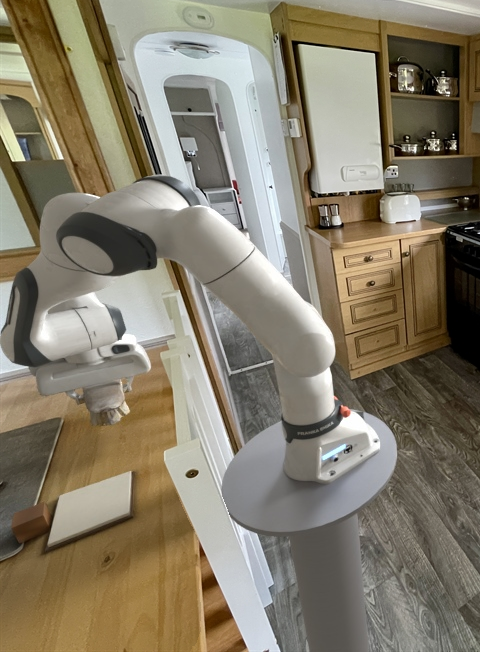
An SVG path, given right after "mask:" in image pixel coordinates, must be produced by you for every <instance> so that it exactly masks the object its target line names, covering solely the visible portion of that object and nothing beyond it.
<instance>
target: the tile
mask: <svg viewBox="0 0 480 652" xmlns="http://www.w3.org/2000/svg"><path fill="white" fill-rule="evenodd" d="M135 474H136V473H135V471H131V470H129V471H126V472H123V473H120V474H117V475H115V476H112V477H108V478H106V479H103V480H100V481H97V482H94V483H91V484H88V485H86V486H82V487H80V488H76V489H74V490H71V491H69V492H65V493H63V494H60V495H59V496H58V498H57V501H56V506H55V509H54V514H53V516H52V517H53V518H52V520H51V529H50V531H49V533H48V536H47V541H46V545H45V549H44V552H45V553H48V552H51V551H53V550H55V549H58V548H60V547H63V546H65V545H68V544H70V543H73V542H75V541H78V540H80V539H84V538H85V537H88V536H90V535H93V534H95V533H98V532H100V531H102V530H105V529H108V528H110V527H112V526H115V525H117V524H120V523H122V522H125V521H127V520H130V519H132V518H134V504H135V503H134V501H135V500H134V499H135Z"/></svg>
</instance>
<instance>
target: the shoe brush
mask: <svg viewBox="0 0 480 652" xmlns="http://www.w3.org/2000/svg"><path fill="white" fill-rule="evenodd" d="M122 387H123V382H122V379H118V380H114V381H109V382H105V383H101V384H97V385H92V386H88V387H84V388H81V389H82V395H84V401H85V403H84V404H85V406H86V407H85V409H87V411H88V412H89V419H90V420H89V421H90V424H91V426H92V427H93V426H94V427H96V426H99V427H106V426H113V425H115V424H116V423H119V422H121V418H124V417H125V416H128V414H130V412H131V410H130V408H129V406H128V404H127V402H126V400H125V399H126V398H125V393H124V390H123V388H122Z"/></svg>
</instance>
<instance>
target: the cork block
mask: <svg viewBox="0 0 480 652" xmlns="http://www.w3.org/2000/svg"><path fill="white" fill-rule="evenodd" d="M52 517H53V516H52V514H51V512H50V510H49V508H48V506H47V503H46V502H45V501H42V502H40V503H37V504H34V505H31V506H30V507H27V508H24V509H22V510H19V511H17V512H13V514H12V520H11V527H10V529H11V531H12V533H13V535H14V536H15V539H16V541H17V542H18V544H19V545H20V544H23V543H24V542H27V541H29V540H31V539H34V538H36V537H39V536H41V535H42V534H46V533H48V532H50V529H51V525H52V521H53V518H52Z"/></svg>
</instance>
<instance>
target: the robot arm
mask: <svg viewBox="0 0 480 652" xmlns="http://www.w3.org/2000/svg"><path fill="white" fill-rule="evenodd" d="M42 210H43V211H42V214H41V219H40V223H39V245H40V251H39V254H38V255H37V256H36V258H35V259H34V260H33V261H32V262H30V263H29V264H28V265H27V266H26V267H24V268H22V269H21V270H19V271H17V272H16V274H15V276H14V277H13V281H12V285H11V289H10V294H9V299H8V305H7V312H6V318H5V322H4V325H3V327H2V328H1V330H0V348H1V351H2V353H3V354H4V356H5V357H6V358H7V359H8V360H9V362H11V363H12V364H15V365H18V366H22V367H28V370H29V372H30V374H31V375H32V376H33V377H35V382H36V383H35V384H36V388H37V391H38V393H39V394H40V395H42V396H44V397H49V396H54V395H57V394H63V393H65V395H66V397H68V398H71V399H72V400H75V403H76V405H77V406H79V405H82V404H85V401H84V395H83V394H79V393H78V392H76V390H80V389H82V388H84V387H88V386H92V385H97V384H101V383H105V382H109V381H114V380H118V379H120V380H123V379H125V381H126V383H124V384H122V389H123V393H124V394H126V393H130V392H132V391H133V389H132V383H133V382H134V377H135V376H138V375H139V376H140V375H143V374H148V373H149V372H150V371H151V369H152V363H151V360H150V358H149V355H148V353H147V351H146V350H145V348H144V346H142V345H141V344H139V343H138V339H137V337H136V335H134V334H125V333H126V331H127V327H126V324H125V322H124V321H125V320H124V316H123V313H122V311H121V309H120V308H118V307H116V306H113V305H110V304H107V303H105V302H104V303H103V302H101V301H100V300H99V298H98V296H97V294H96V292H98V291H102V290H105V289H107V288H108V287H110V286H112V285H113V284H115V283H116V282H117V281H118V280H119V279H120V277H122V276H125V275H129V274H132V273H136V272H138V271H140V272H141V271H151V270H154V269H157V267H158V259H164V260H170V261H173V262H174V263H177V264H179V266H182V267H183V268H184V269H185V270H186V271H187V272H188V273H189V274H190V276H192V277H193V278H194V279H195V280H196V281H197V282H198V283H200V284H201V285H202V286H203V287H204V288H205V289H207V290H208V291H209V292H210V293H211V294H212V295H213V296H214V297H215V298H216V299H217V300H218V301H220V302H221V303H222V304H223V305H224V306H225V307H227V308H228V310H230V312H231V313H233V314H234V315H235V316H236V317H237V318H238V319H239V320H240V322H242V324H243V325H244V326H245V327H246V328H247V330H248V331H249V332H250V333H251V334H252V335H253V336H254V337H255V339H256V340H257V341H258V342H260V344H261V345H262V346H263V347H264V348H265V349H266V350H267V351H268V352H269V353H270V354H271V356H272V362H273V367H274V368H273V369H274V372H275V377H276V382H277V388H278V393H279V400H280V406H281V414H280V415H281V416H280V417H281V418H280V419H281V420H280V421H282V423H281V424H282V431H283V436H284V438H285V440H286V450H285V458H284V462H283V469H284V472H285V473H286V475H287V476H289V477H290V478H292V479H294V480H298V481H316V482H319V483H322V484H329V483H331V482H332V481H334V480H335V479H337V478H339V477H340V476H342V475H343V474H345V473H346V472H348V471H349V470H351V469H352V468H354V467H355V466H357V465H359V464H360V463H362V462H363V461H365V460H366V459H368V458H369V457H371V456H372V455H374V454H375V453H377V452H378V451H379V450H380V441H379V438H378V435H377V434H376V432H375V431H374V430H373V428H372V427H371V426H369V425H368V424H367V423H365V421H364V412H365V411H362V412H354V411H350V410H349V409H350V408H349V407H348V406H344V404H343V402H342V400H340V399H338V398H337V396H335V395H334V385H333V376H332V372H331V365H332V364H333V362H334V360H335V357H336V344H335V338H334V335H333V333H332V331H331V329H330V327H329V326H328V325H327V323H326V322H325V320H324V318H323V317H322V316H321V314H320V313H319V312H318V310H317V308H316V307H315V306H314V305H312V303H310V302H308V301H306V300H304V298H303V297H302V296H301V295H300V293H298V292H297V290H296V289H295V287H293V285H291V284H290V282H289V280H287V278H285V276H283V274H282V273H281V272H280V271H279V270H278V269H277V268H276V267H275V266H274V264H273V263H272V262H271V261H270V260H269V259H268V258H267V257H266V256H265V255H264V254H263V253H262V252H261V250H260V249H259V248H258V247H257V246H256V245H255V244H254V243H253V242H252V241H251V240H250V239H249V238H248V237H247V236H246V235H245V234H244V233H243V232H242V231H241V230H240V229H238V228H237V227H236V226H235V225H234V224H233V223H232V222H230V221H229V220H228V219H226V217H224V216H223V215H221V214H220V213H219V212H217V211H216V210H215V209H213V208H211V207H208V206H206V205H201V201H200V199H199V197H198V196H197V194H196V193H195V192H194V190H193V189H192V188H191V187H190V186H189V185H187V184H186V183H185V182H184V181H182V180H180V179H178V178H176V177H175V176H171V175H167V174H154V175H148V176H145V177H141V178H138V179H136V180H135V181H133V182H132V183H130V184H128V185H125V186H123V187H120V188H118V189H116V190H114V191H111V192H108V193H106V194H104V195H102V196H101V197H100V196H97V195H95V194H90V193H86V192H85V193H84V192H66V193H61V194H58V195H56V196H54V197H53V198H50V200H48V202H47V203H46V204H45V205H44V208H43V209H42ZM331 475H332V476H331Z"/></svg>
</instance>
